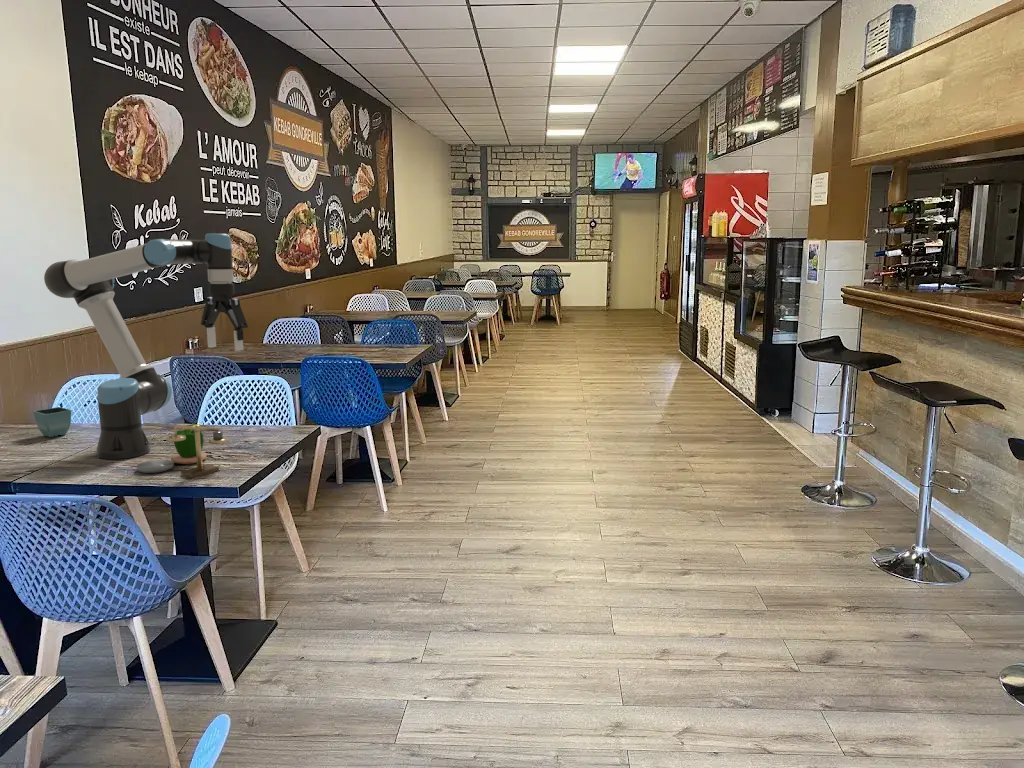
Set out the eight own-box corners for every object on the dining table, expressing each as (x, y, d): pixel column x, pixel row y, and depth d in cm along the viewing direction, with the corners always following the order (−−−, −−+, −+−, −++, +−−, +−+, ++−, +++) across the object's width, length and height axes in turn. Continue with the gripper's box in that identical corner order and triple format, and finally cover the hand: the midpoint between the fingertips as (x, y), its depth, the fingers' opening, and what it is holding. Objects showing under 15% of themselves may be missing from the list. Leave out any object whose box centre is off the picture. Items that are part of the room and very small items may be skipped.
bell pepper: (170, 459, 226) (167, 427, 224) (182, 452, 234) (179, 421, 232) (197, 459, 226) (195, 427, 224) (208, 452, 234) (206, 421, 232)
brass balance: (166, 479, 212) (161, 425, 209) (221, 464, 227) (218, 413, 224) (176, 482, 209) (172, 428, 206) (232, 466, 224) (229, 415, 222)
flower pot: (74, 434, 262) (72, 409, 260) (48, 439, 254) (45, 414, 253) (61, 431, 266) (59, 406, 265) (35, 436, 259) (32, 411, 257)
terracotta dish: (164, 462, 229) (164, 457, 228) (193, 454, 237) (192, 449, 237) (184, 467, 224) (184, 462, 223) (213, 459, 232) (212, 454, 232)
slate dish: (130, 471, 220) (129, 465, 219) (161, 462, 228) (161, 457, 228) (150, 476, 214) (149, 471, 214) (181, 468, 223) (181, 463, 222)
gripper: (256, 283, 234) (260, 350, 238) (206, 281, 247) (211, 344, 251) (236, 284, 227) (241, 353, 231) (186, 282, 240) (191, 347, 244)
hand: (225, 348), depth 241 cm, fingers open, 13 cm apart
